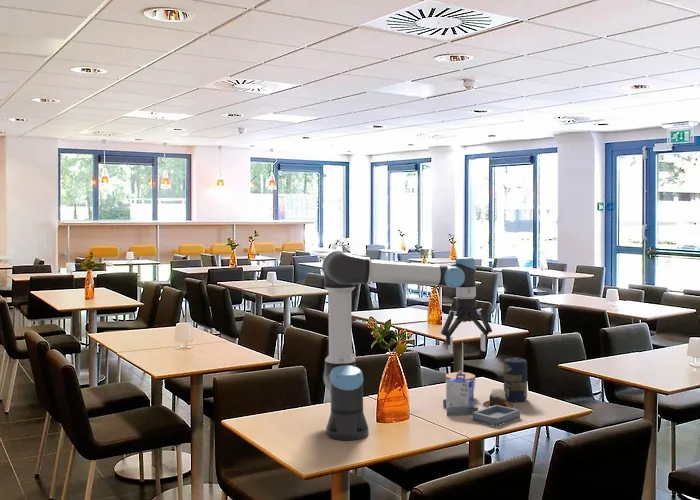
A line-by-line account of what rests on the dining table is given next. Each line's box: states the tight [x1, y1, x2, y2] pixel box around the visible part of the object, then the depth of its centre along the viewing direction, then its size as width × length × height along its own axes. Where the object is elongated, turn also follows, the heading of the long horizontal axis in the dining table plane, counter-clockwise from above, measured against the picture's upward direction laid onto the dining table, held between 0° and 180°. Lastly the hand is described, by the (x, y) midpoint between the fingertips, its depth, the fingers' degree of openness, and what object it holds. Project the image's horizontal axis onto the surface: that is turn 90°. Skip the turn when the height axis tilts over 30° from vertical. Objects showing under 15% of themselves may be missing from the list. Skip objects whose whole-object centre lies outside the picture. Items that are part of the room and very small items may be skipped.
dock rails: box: [442, 398, 479, 416], centre depth 276 cm, size 12×13×3 cm
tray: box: [471, 405, 521, 427], centre depth 263 cm, size 11×15×3 cm
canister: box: [503, 356, 528, 402], centre depth 290 cm, size 10×10×18 cm
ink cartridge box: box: [445, 373, 475, 411], centre depth 275 cm, size 10×6×14 cm, turn 58°
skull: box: [482, 386, 514, 409], centre depth 282 cm, size 12×10×10 cm
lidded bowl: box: [445, 370, 476, 389], centre depth 296 cm, size 13×13×11 cm
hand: (466, 352), depth 269 cm, fingers open, 13 cm apart
